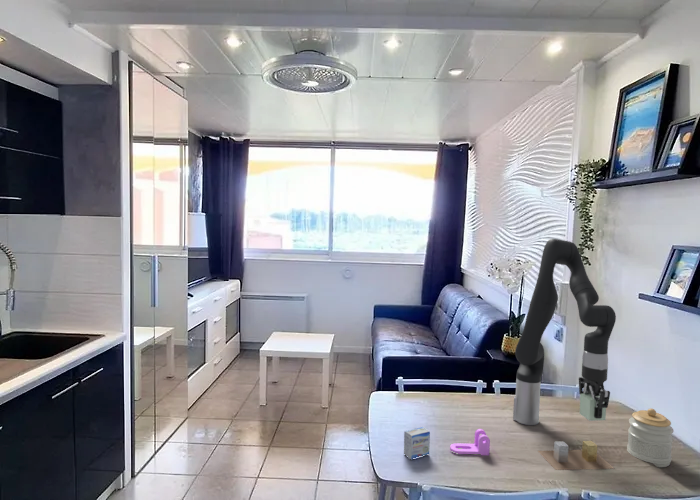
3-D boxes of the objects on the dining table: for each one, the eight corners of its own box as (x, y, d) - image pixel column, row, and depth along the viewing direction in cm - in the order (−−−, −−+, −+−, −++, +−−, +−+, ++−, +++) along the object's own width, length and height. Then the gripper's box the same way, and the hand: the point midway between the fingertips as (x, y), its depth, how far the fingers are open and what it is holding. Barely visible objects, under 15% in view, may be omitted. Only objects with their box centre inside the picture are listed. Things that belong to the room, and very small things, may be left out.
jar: (654, 471, 151) (658, 419, 150) (618, 452, 163) (621, 404, 162) (679, 463, 156) (683, 413, 155) (642, 445, 168) (645, 399, 167)
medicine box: (410, 461, 155) (411, 436, 154) (403, 454, 159) (404, 430, 158) (429, 455, 158) (430, 431, 158) (421, 449, 162) (422, 426, 162)
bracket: (484, 447, 165) (485, 428, 164) (489, 455, 159) (490, 436, 159) (448, 446, 165) (449, 428, 164) (451, 455, 159) (452, 435, 159)
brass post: (587, 461, 154) (588, 445, 153) (581, 456, 157) (582, 441, 156) (596, 461, 154) (597, 445, 153) (590, 456, 157) (591, 440, 157)
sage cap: (589, 420, 151) (590, 400, 151) (579, 413, 157) (580, 393, 156) (605, 420, 152) (606, 399, 151) (595, 412, 157) (595, 393, 157)
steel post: (558, 462, 153) (559, 446, 152) (553, 457, 156) (554, 441, 156) (567, 462, 153) (568, 446, 153) (562, 457, 156) (563, 441, 156)
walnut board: (555, 474, 148) (555, 469, 148) (537, 454, 160) (537, 450, 160) (614, 472, 150) (614, 468, 150) (592, 453, 162) (592, 449, 162)
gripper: (571, 358, 160) (569, 405, 161) (597, 372, 145) (594, 423, 147) (592, 357, 160) (590, 405, 162) (619, 371, 146) (616, 423, 147)
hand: (592, 413), depth 154 cm, fingers closed on sage cap, 5 cm apart
